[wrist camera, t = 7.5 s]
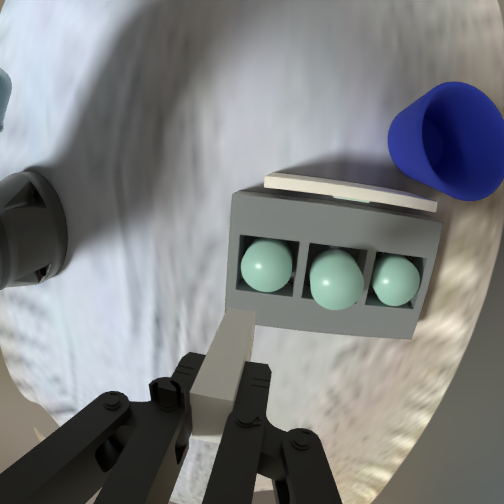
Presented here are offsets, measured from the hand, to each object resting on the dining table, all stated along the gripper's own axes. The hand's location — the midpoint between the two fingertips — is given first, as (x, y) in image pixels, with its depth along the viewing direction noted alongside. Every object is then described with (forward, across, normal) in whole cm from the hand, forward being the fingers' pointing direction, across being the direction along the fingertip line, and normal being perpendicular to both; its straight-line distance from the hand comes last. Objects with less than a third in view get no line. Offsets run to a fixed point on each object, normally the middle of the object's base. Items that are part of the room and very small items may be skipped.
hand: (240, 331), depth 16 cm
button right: (+14, +12, 0) cm, 19 cm away
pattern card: (+15, +6, +7) cm, 17 cm away
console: (+15, +6, 0) cm, 16 cm away
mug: (+15, +15, +13) cm, 25 cm away
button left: (+14, 0, 0) cm, 14 cm away
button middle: (+12, +6, 0) cm, 14 cm away
